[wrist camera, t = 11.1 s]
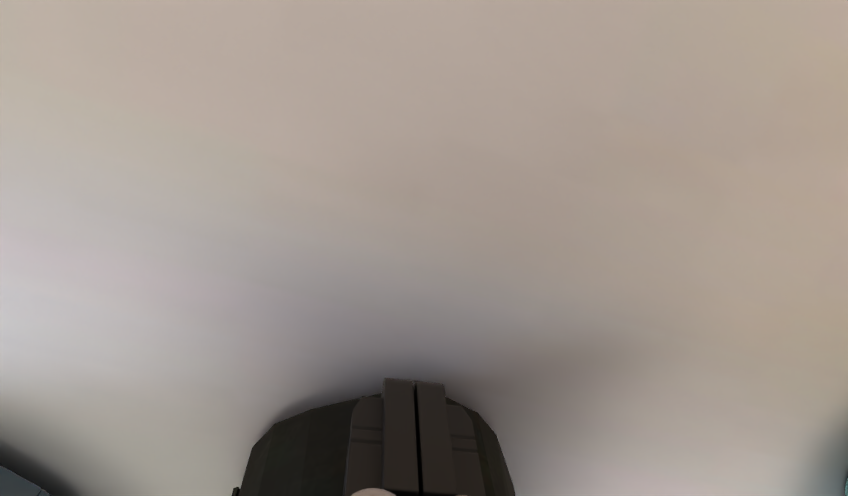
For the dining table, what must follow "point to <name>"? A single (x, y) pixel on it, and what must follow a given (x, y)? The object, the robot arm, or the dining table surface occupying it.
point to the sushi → (339, 455)
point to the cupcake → (846, 488)
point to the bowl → (18, 485)
